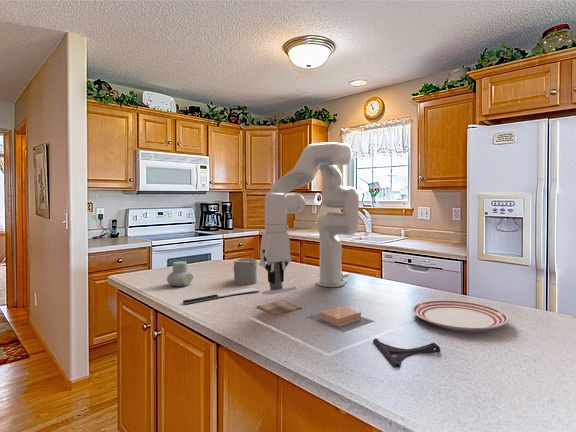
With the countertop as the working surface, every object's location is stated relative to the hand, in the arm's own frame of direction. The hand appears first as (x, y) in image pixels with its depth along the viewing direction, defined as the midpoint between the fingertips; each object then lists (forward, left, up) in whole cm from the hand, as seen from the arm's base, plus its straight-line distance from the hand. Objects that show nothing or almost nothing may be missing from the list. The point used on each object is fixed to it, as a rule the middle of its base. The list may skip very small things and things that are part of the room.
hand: (275, 281), depth 128 cm
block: (-8, +19, -8) cm, 22 cm away
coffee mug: (-12, -41, -10) cm, 43 cm away
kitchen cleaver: (+7, -27, -10) cm, 29 cm away
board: (0, +1, -10) cm, 10 cm away
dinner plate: (-37, +45, -10) cm, 60 cm away
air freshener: (+13, -53, -10) cm, 55 cm away
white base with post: (0, +2, -3) cm, 4 cm away
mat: (-8, +22, -10) cm, 26 cm away
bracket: (-5, +49, -10) cm, 51 cm away
